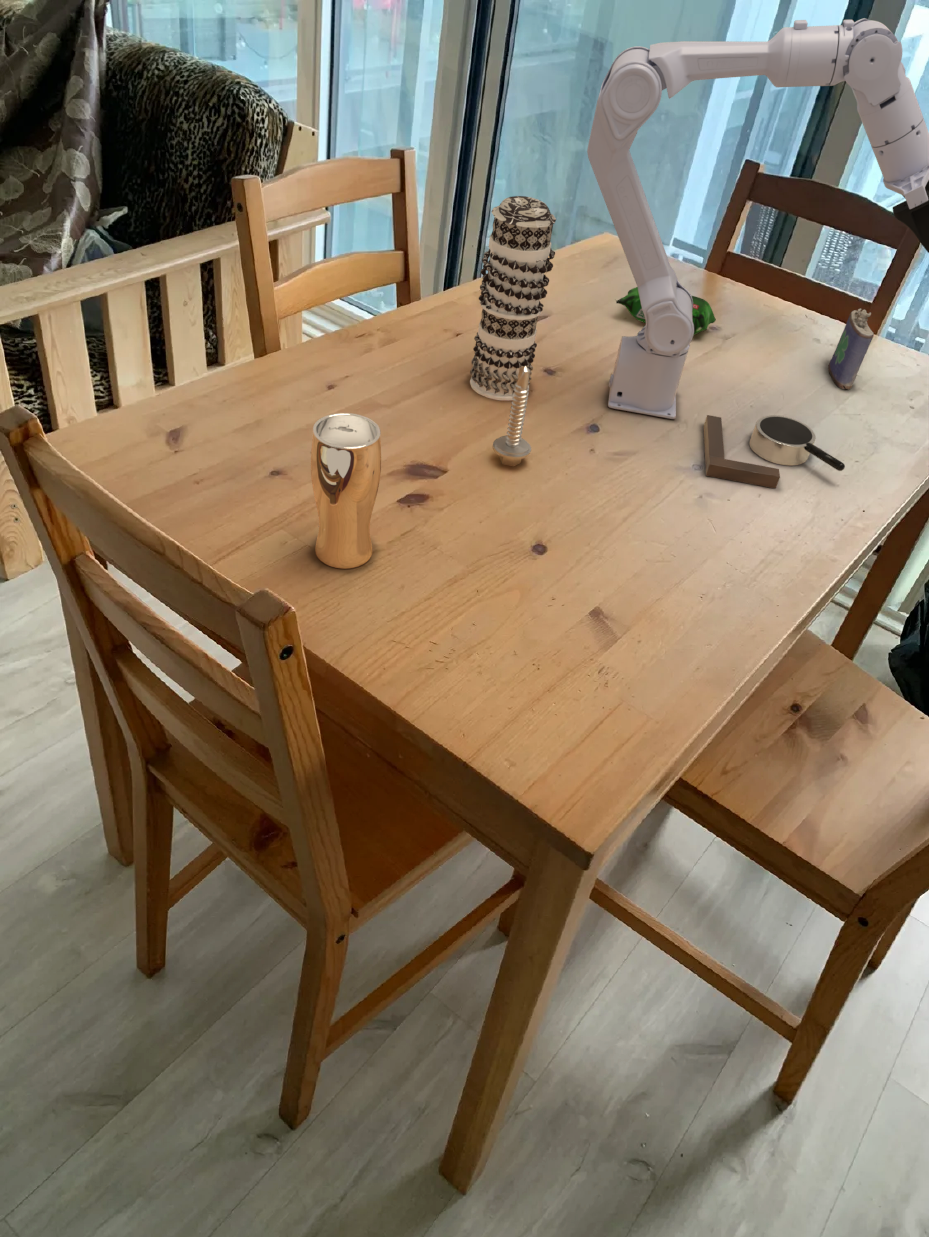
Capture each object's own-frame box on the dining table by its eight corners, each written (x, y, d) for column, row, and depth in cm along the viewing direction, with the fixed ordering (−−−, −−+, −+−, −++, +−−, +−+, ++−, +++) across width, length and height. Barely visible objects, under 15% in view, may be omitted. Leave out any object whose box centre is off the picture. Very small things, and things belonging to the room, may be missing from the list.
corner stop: (705, 476, 119) (709, 464, 118) (703, 426, 129) (706, 414, 128) (775, 488, 119) (780, 477, 118) (767, 437, 129) (772, 426, 127)
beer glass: (343, 524, 104) (346, 404, 94) (389, 552, 101) (397, 431, 91) (297, 550, 99) (295, 427, 89) (343, 580, 96) (347, 457, 86)
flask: (853, 391, 142) (881, 324, 135) (833, 388, 142) (860, 321, 135) (843, 364, 149) (869, 299, 142) (824, 361, 149) (850, 296, 142)
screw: (495, 447, 119) (532, 455, 118) (486, 466, 116) (524, 475, 115) (510, 353, 110) (549, 361, 110) (500, 370, 107) (541, 379, 106)
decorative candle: (542, 398, 130) (576, 215, 113) (481, 405, 127) (507, 217, 110) (516, 368, 136) (544, 189, 119) (457, 373, 133) (478, 190, 116)
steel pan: (737, 442, 127) (744, 421, 125) (775, 429, 131) (782, 408, 128) (816, 494, 119) (825, 472, 117) (854, 478, 123) (864, 457, 121)
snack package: (624, 304, 158) (631, 273, 154) (713, 329, 154) (722, 299, 150) (611, 318, 153) (617, 288, 149) (702, 345, 149) (711, 314, 145)
